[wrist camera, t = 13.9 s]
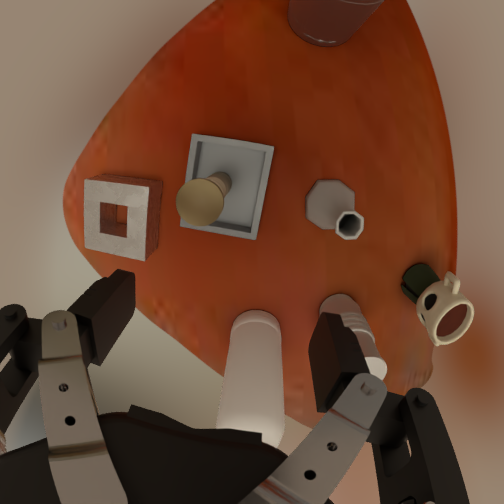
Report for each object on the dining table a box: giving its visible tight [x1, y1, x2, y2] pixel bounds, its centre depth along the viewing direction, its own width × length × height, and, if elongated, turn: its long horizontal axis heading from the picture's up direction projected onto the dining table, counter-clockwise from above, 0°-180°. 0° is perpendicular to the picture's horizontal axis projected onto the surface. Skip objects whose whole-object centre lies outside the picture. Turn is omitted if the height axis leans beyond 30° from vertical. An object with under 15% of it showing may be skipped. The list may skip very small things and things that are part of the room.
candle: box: [319, 294, 387, 380], centre depth 37 cm, size 7×7×15 cm
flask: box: [305, 180, 364, 240], centre depth 33 cm, size 7×7×10 cm
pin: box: [176, 172, 232, 226], centre depth 31 cm, size 4×4×12 cm
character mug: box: [401, 264, 474, 346], centre depth 35 cm, size 11×7×13 cm, turn 2°
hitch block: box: [84, 174, 163, 261], centre depth 37 cm, size 10×10×5 cm
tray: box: [180, 134, 274, 240], centre depth 36 cm, size 12×10×3 cm
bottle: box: [216, 310, 285, 448], centre depth 32 cm, size 8×8×30 cm
